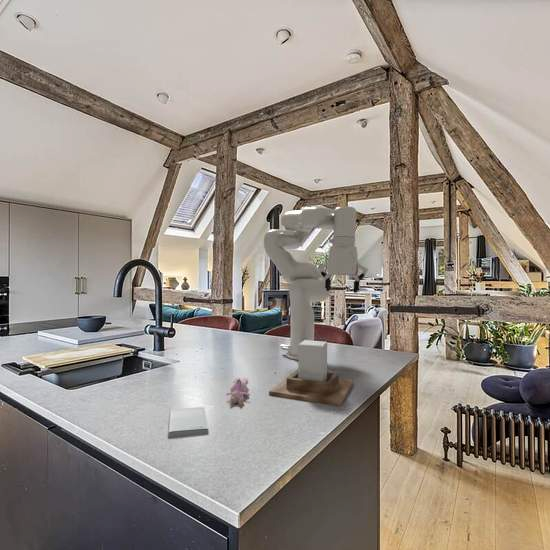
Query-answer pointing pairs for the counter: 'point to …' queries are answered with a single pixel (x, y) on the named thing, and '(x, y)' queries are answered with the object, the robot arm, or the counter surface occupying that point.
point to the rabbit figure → (238, 391)
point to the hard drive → (187, 421)
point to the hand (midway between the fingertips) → (341, 291)
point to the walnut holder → (314, 389)
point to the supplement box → (312, 361)
